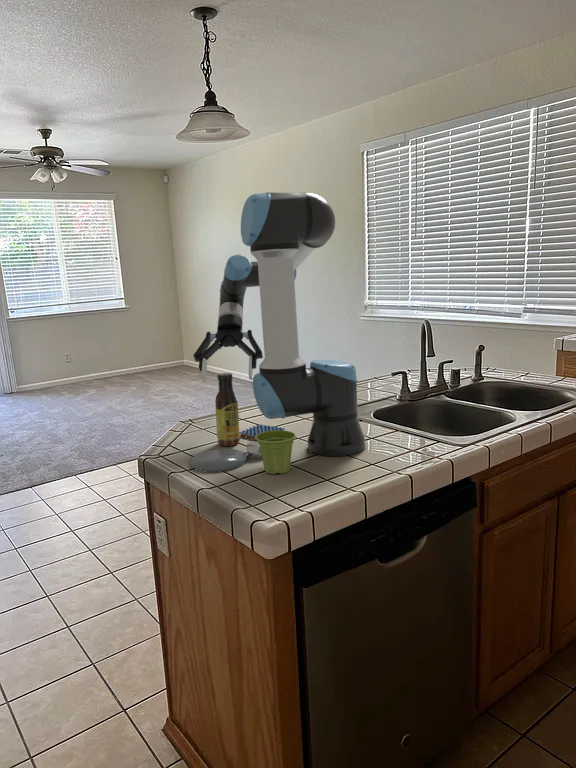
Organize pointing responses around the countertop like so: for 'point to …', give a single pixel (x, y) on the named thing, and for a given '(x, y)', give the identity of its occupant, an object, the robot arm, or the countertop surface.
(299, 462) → the countertop surface
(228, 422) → the sauce bottle
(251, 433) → the woven mat
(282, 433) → the plant pot
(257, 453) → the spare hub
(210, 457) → the disc
